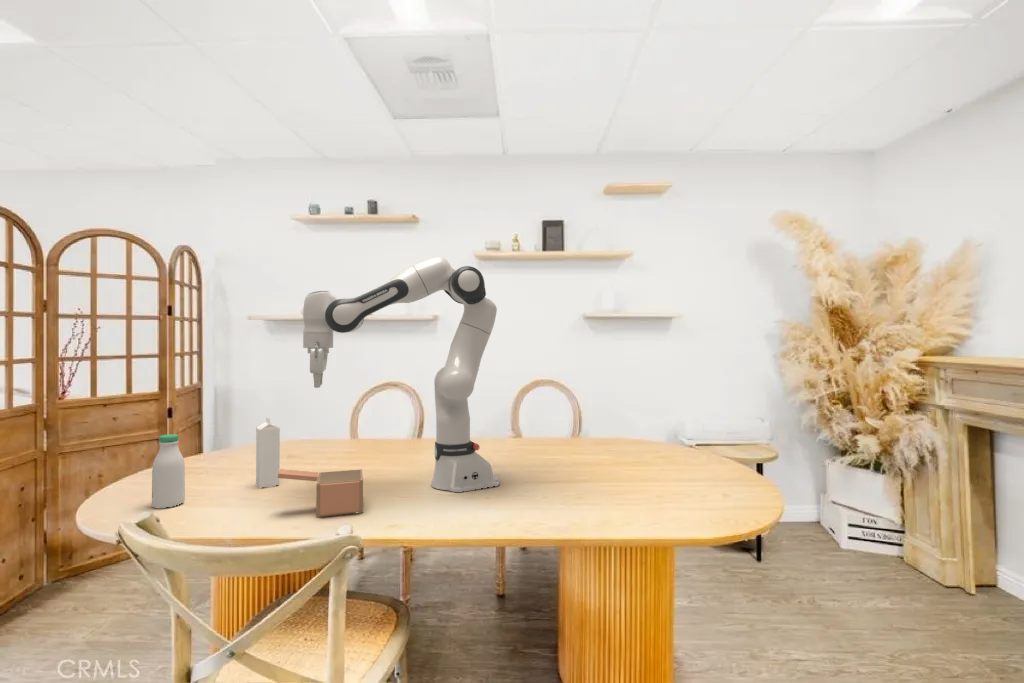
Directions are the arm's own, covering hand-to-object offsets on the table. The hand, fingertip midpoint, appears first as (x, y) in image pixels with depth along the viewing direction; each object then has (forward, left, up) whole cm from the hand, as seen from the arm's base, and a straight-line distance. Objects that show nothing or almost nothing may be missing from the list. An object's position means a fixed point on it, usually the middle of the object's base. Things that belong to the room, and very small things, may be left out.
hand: (318, 386), depth 155 cm
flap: (-1, +19, -24) cm, 30 cm away
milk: (+16, -12, -33) cm, 39 cm away
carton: (-7, +19, -33) cm, 39 cm away
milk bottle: (+40, +1, -33) cm, 52 cm away
